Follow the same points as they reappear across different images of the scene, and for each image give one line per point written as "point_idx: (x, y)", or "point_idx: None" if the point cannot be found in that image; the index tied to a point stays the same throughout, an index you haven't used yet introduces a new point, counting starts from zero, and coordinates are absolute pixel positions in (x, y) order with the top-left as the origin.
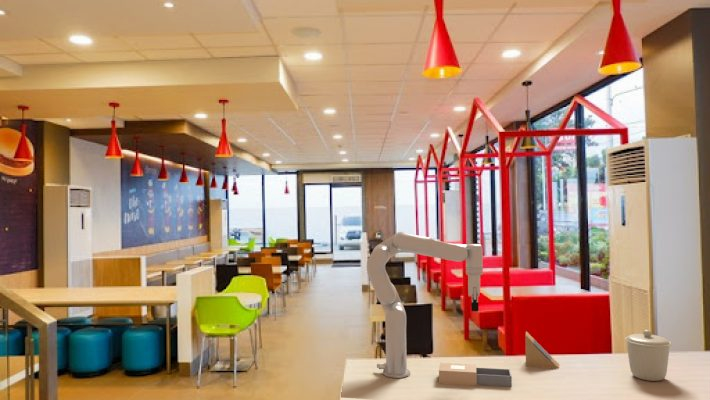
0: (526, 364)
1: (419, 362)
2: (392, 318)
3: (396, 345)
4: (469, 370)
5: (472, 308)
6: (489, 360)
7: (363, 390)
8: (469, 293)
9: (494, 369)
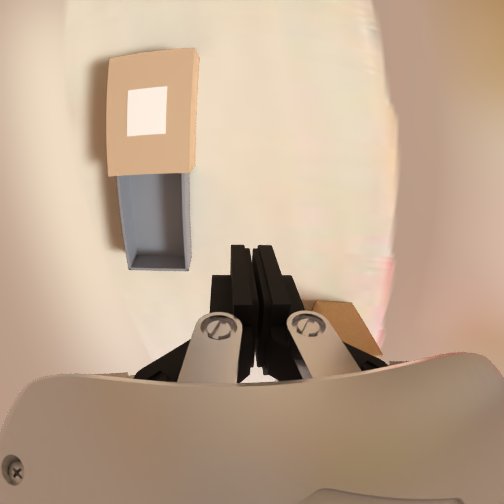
0: (316, 303)
1: (330, 11)
2: None
3: None
4: (121, 153)
5: (231, 267)
6: (363, 217)
7: None
8: (5, 423)
9: (183, 228)
